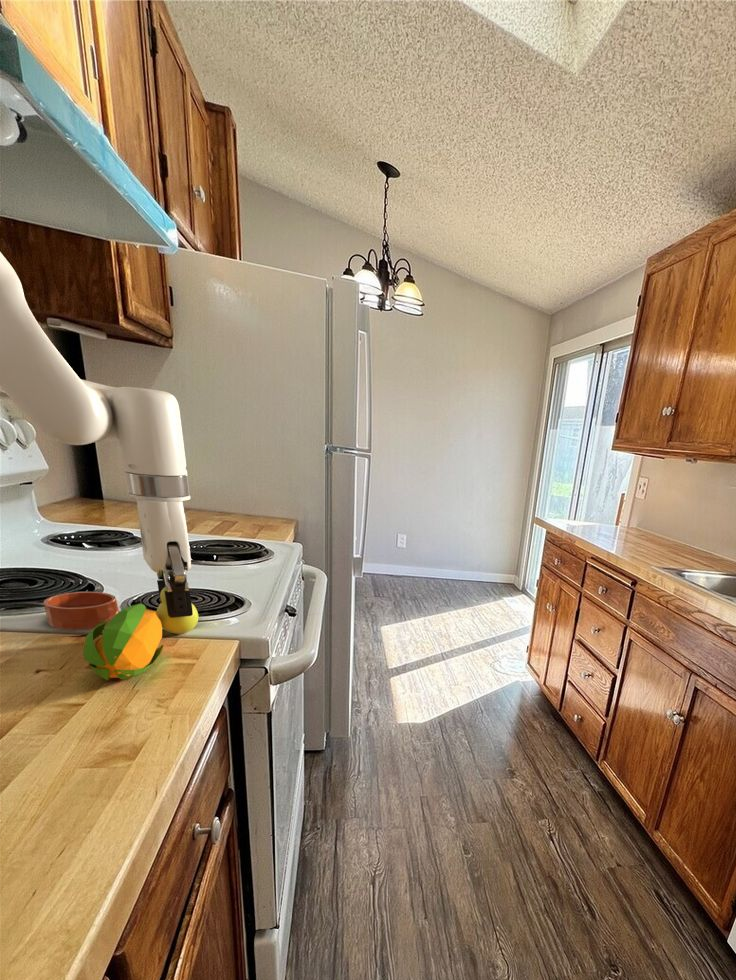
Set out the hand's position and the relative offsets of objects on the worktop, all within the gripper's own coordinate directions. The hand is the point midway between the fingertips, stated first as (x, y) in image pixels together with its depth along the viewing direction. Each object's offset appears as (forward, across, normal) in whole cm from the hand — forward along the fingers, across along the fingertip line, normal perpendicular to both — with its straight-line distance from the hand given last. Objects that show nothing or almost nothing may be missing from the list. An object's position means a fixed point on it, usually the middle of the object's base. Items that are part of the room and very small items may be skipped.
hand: (176, 609), depth 85 cm
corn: (+4, +10, -7) cm, 13 cm away
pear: (+4, 0, 0) cm, 4 cm away
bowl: (+4, -6, -11) cm, 14 cm away
